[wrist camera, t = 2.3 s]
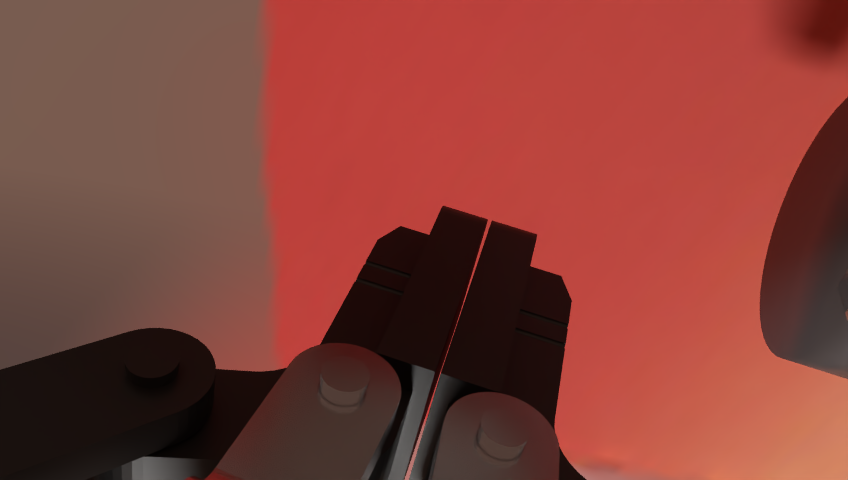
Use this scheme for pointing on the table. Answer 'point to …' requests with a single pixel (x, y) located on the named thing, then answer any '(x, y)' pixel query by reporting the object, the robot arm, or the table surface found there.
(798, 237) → the knob
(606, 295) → the table surface
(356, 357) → the robot arm
